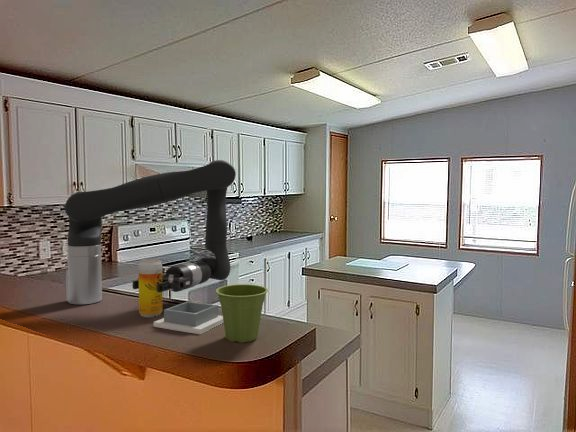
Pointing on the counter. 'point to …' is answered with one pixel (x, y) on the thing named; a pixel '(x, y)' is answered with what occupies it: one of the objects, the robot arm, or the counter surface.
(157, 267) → the beer can
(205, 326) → the dock
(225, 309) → the plant pot
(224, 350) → the counter surface
